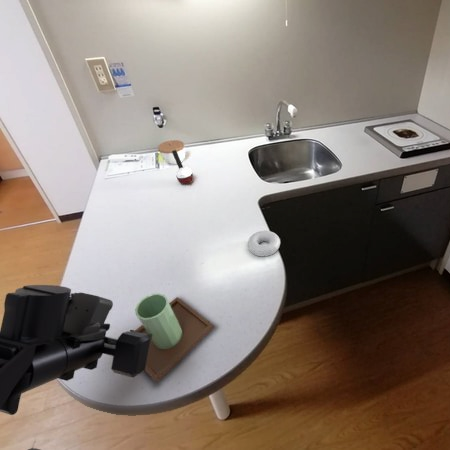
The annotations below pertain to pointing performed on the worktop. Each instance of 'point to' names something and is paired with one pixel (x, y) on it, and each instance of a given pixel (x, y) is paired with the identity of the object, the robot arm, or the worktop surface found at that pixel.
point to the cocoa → (182, 171)
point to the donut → (263, 249)
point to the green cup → (159, 320)
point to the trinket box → (170, 146)
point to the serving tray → (192, 335)
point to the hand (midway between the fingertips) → (129, 331)
